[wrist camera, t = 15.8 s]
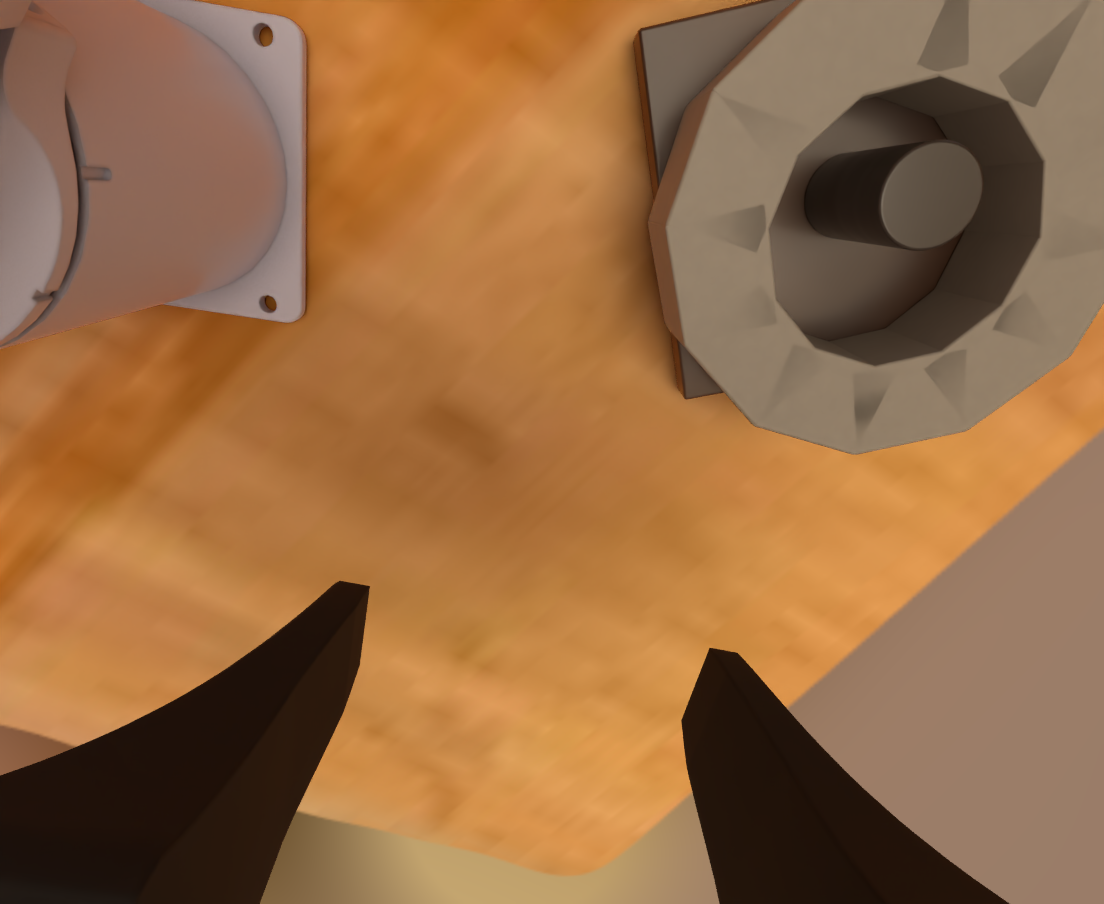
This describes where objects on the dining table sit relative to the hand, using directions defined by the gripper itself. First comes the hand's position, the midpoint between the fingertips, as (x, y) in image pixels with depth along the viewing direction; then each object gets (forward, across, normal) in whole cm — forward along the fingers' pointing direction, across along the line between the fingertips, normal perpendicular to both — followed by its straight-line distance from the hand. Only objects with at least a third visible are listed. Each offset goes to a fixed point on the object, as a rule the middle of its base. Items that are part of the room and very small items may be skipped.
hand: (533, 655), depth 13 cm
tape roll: (+8, -7, -10) cm, 14 cm away
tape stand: (+9, -6, -10) cm, 15 cm away
